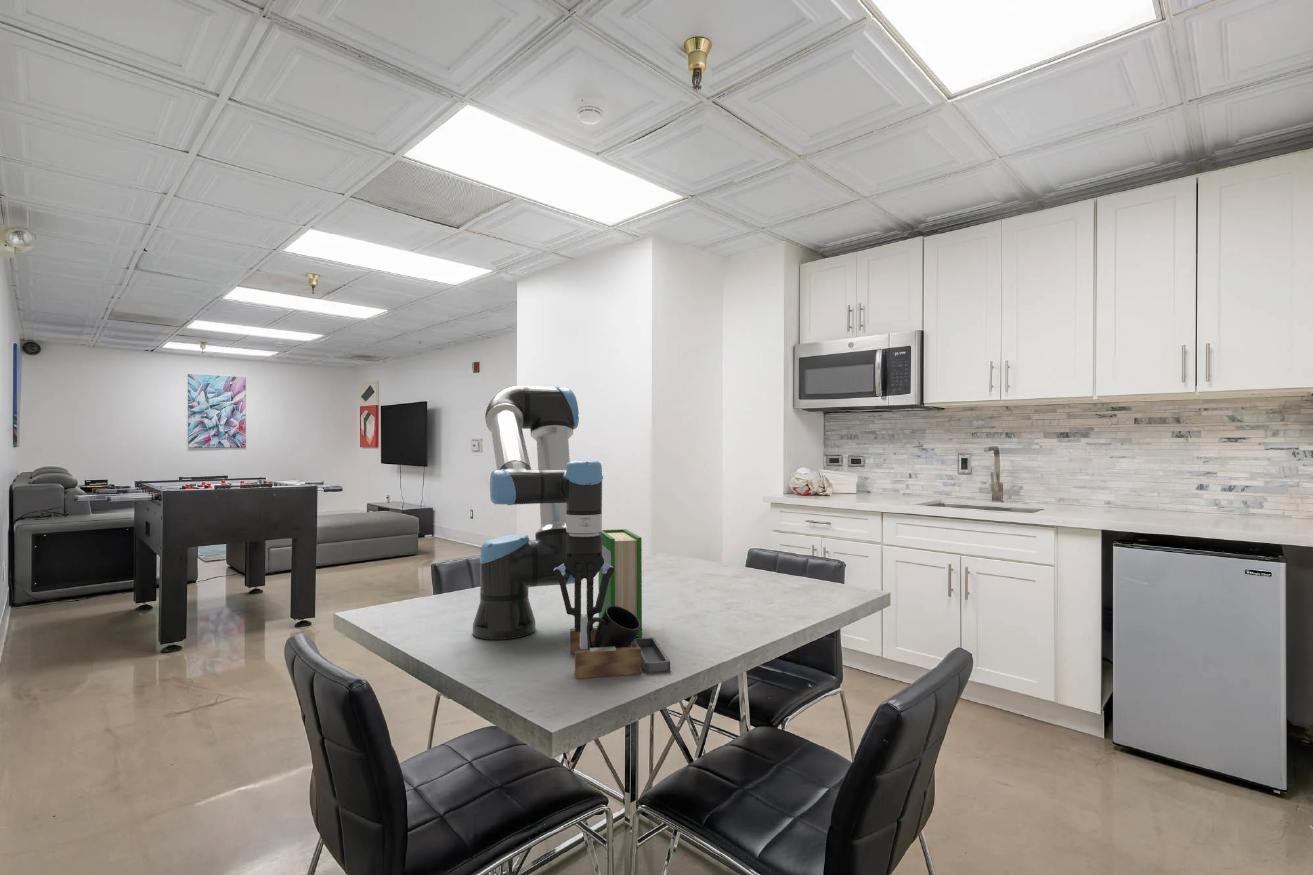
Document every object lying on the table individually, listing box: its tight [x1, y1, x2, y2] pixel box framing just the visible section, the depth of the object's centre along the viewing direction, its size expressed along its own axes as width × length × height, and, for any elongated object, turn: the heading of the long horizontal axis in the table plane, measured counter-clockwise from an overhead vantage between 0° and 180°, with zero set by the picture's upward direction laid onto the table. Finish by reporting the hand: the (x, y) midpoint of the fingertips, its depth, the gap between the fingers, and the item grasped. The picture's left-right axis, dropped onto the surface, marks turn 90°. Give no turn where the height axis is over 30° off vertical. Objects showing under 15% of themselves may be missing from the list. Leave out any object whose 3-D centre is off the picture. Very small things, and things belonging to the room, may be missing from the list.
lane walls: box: [569, 625, 642, 680], centre depth 132 cm, size 13×17×5 cm
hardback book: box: [598, 528, 643, 639], centre depth 156 cm, size 18×7×24 cm, turn 15°
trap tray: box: [631, 637, 671, 674], centre depth 133 cm, size 5×17×2 cm, turn 11°
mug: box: [587, 606, 641, 650], centre depth 130 cm, size 8×12×10 cm
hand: (583, 647), depth 131 cm, fingers closed
